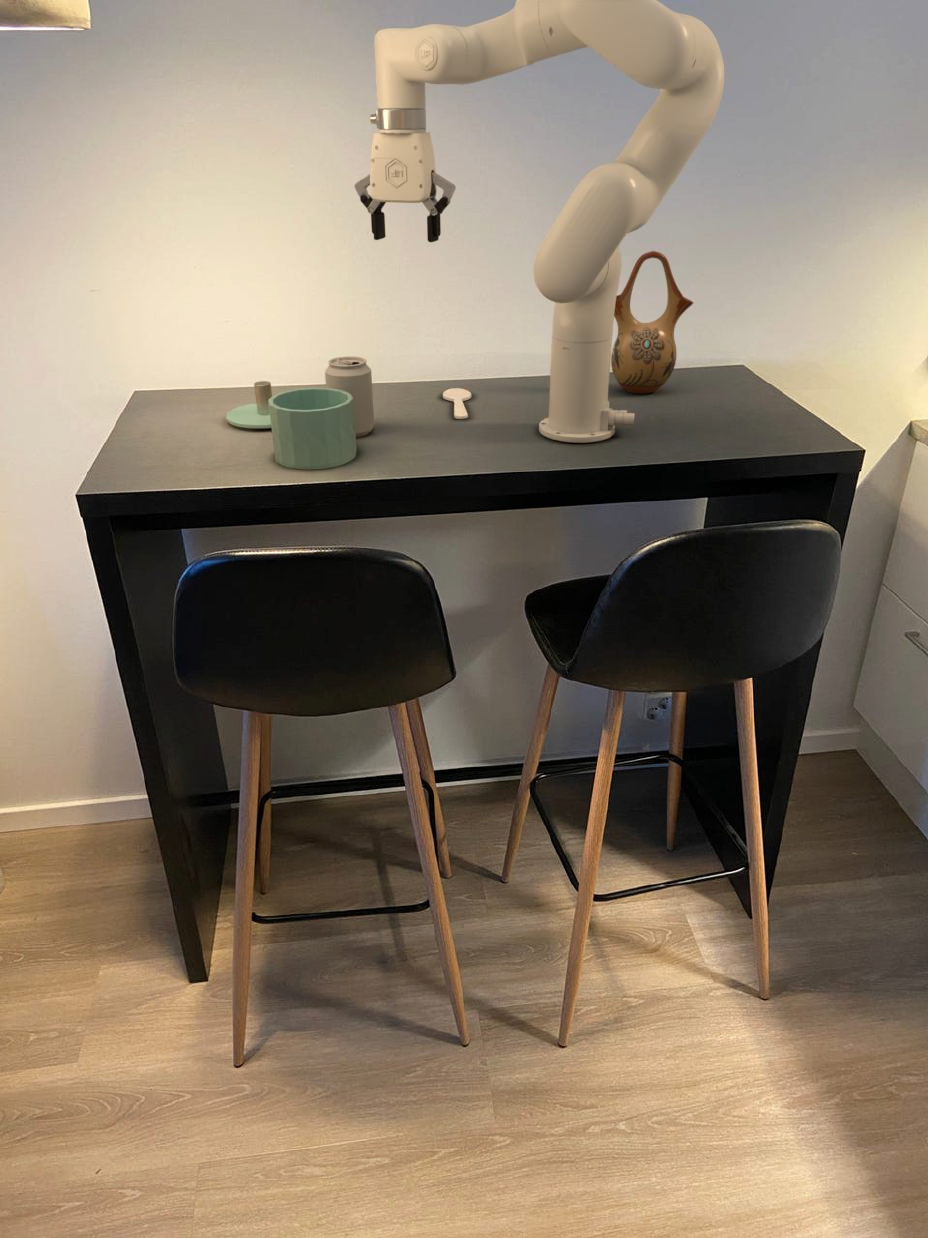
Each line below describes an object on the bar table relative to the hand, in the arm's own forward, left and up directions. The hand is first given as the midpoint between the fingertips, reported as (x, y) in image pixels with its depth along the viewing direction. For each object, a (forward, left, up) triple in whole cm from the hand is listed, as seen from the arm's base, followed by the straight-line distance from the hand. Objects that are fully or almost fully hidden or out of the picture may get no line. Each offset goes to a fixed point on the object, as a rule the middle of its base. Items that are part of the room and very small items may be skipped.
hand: (406, 239), depth 151 cm
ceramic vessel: (-41, -16, -28) cm, 52 cm away
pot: (+10, +27, -28) cm, 40 cm away
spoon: (-8, -3, -28) cm, 30 cm away
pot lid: (+24, +10, -28) cm, 38 cm away
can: (+7, +15, -28) cm, 33 cm away
